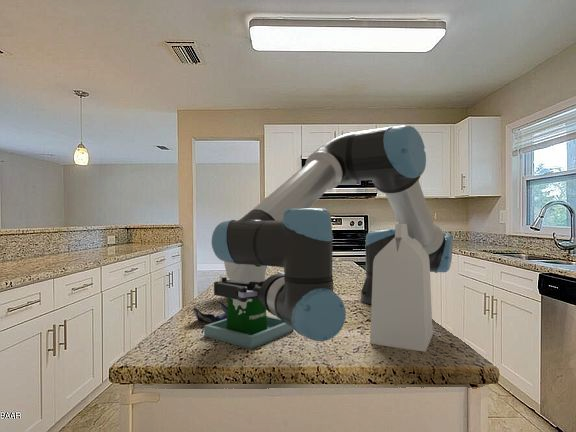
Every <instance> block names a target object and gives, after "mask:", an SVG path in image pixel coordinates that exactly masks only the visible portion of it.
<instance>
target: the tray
mask: <svg viewBox="0 0 576 432" xmlns="http://www.w3.org/2000/svg"><path fill="white" fill-rule="evenodd" d="M266 316H267V329H266V330H264V331H261V332H258V333H256V334H253V335H248V334H244V333H240V332H236V331H232V330H228V329H226V326H227V319H224V320H220V321H217V322H214V323H211V322H210V323H208V324H205V325H204V326H203V329H204V333H203V334H204V335H203V336H204V337H206V338H210V339H214V340H217V341H221V342H225V343H228V344H231V345H235V346H240V347H242V348H247V349H248V350H249V349H250V350H253V349H256V348H257V347H259V346H262V345H265V344H267V343H269V342H272V341H274V340H277V339H279V338H281V337H284V336H286V335H288V334H290V332H291V333H293V332H294V331H295V330H294V329H293V328H291V327H290V326H289V325H287V324H286V323H285V322H283V321H282V320H281V319H279V318H278V317H276V316H275V317H274V316H270V315H266ZM292 331H293V332H292ZM285 334H286V335H285ZM283 335H284V336H283Z"/></svg>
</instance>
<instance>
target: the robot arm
mask: <svg viewBox="0 0 576 432" xmlns="http://www.w3.org/2000/svg"><path fill="white" fill-rule="evenodd" d="M304 163H305V164H304V165H303V166H302V167H301V168H300V169H299V170H298V171H297V172H295V173H294V174H293V175H292V176H291V177H289V178H288V179H287V180H285V181H284V182H283V183H282V184H281V185H279V187H277V188H276V189H275V190H274V191H272V193H270V194H269V195H268V196H267V197H265V198H264V199H263V200H262V201H261V202H259V203H258V204H257V205H256V206H254V207H253V208H252V209H251V210H250V211H249V212H248V213H246V214H244V216H242V217H241V218H240V219H237V220H236V219H230V220H225V221H222V222H219V223H218V224H217V225H216V227H215V228H214V229H213V232H212V236H211V247H212V250H213V253H214V255H215V256H216V258H217V259H218V260H220V261H222V262H224V261H225V262H231V263H235V264H248V265H264V266H267V267H277V268H283V271H284V272H283V271H279V270H278V271H276V273H275V274H272V275H270V276H269V277H267V278H266V280H265V281H251V282H249V283H245V282H234V281H230V279H229V278H227V275H226V276H225V275H224V274H222V275H219V281H215V282H213V295H214V296H217V297H223V298H232V299H236V300H239V301H241V302H246V301H247V297H249V298H250V299H255V300H260V302H261V304H262V305H263V307H264V308H265V309H266V312H269V313H270V314H272V315H273V316H275V317H276V318H279V319H281V320H282V321H283V322H285V323H286V324H287V325H289V326H290V327H291V328H293V329H294V331H295V332H296V333H297V334H298V335H301V336H302V337H305V338H307V339H309V340H311V341H314V342H326V341H329V340H331V339H333V338H335V337H336V336H337V335H338V334H339V333H340V331H341V330H342V329H343V327H344V324H345V323H346V316H347V314H346V313H347V311H346V307H345V304H344V301H343V300H342V298H341V297H340V296H339V295H338V294H337V293H336V292H335V291H334V279H333V240H334V235H333V227H332V226H333V225H332V224H333V223H332V216H331V213H330V211H329V210H328V209H327V208H315V207H314V208H312V206H313V205H315V203H316V202H317V201H318V200H319V199H320V198H321V197H322V196H323V195H324V194H325V193H326V192H327V191H328V190H329V191H330V190H332V189H335V188H336V187H338V186H339V185H340V184H342V183H346V182H356V181H372V183H373V185H374V188H376V190H377V191H379V192H380V193H382V194H385V196H386V199H387V201H388V203H389V205H390V208H391V209H392V213H393V214H394V216H395V218H396V220H397V224H407V230H408V236H410V237H411V238H412V239H413V238H414V239H416V240H417V241H418V242H419V243H420V244H421V245H422V247H423V249H424V250H425V251H426V253H427V254H428V256H429V262H430V273H434V274H436V273H437V274H438V273H447V272H448V271H450V268H451V263H452V258H453V248H454V246H453V244H454V243H453V241H454V239H453V234H451V233H447V232H443V229H441V227H440V226H438V225H437V224H435V223H434V221H433V218H432V215H431V212H430V209H429V207H428V204H427V201H426V198H425V195H424V192H423V190H422V187H421V184H420V183H421V182H420V178H421V176H422V175H423V174H424V172H425V169H426V165H427V154H426V151H425V144H424V140H423V139H422V135H421V134H420V132H419V131H418V130H417V129H416V128H415V127H414V126H411V125H406V124H405V125H391V126H388V127H381V128H374V129H368V130H362V131H361V130H360V131H354V132H348V133H345V134H342V135H339V136H338V137H335V138H333V139H332V140H329V141H328V142H326V143H325V144H323V145H322V146H320V147H319V148H318V149H316V150H315V151H314V152H313V153H311V154H310V155H309V156H308V157H307V158H306V160H305V162H304ZM394 237H395V228H391V229H383V230H376V231H370V232H367V234H366V236H365V245H364V247H365V278H364V282H363V286H362V289H361V291H360V301H361V302H363V303H365V304H368V305H372V279H373V261H374V258H375V256H376V255H377V254H378V253H379V252H380V251H381V250H382V249H383V248H384V247H385V246H386V245H387V244H388V243H389V242H390V241H391V240H392V239H393V238H394ZM255 285H258V286H256V287H255Z"/></svg>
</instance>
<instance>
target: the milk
mask: <svg viewBox="0 0 576 432" xmlns="http://www.w3.org/2000/svg"><path fill="white" fill-rule="evenodd" d="M394 229H395V237H394V238H393V239H392V240H391V241H390V242H389V243H388V244H387V245H386V246H385V247H384V248H383V249H382V250H381V251H380V252H379V253H378V254H377V255H376V256H375V258H374V261H373V279H372V304H371V308H370V309H371V310H370V312H371V313H370V336H369V344H371V345H377V346H378V345H379V346H384V347H385V346H386V347H390V348H391V347H392V348H398V349H405V350H412V351H417V352H419V351H420V352H423V353H424V352H427V350H428V348H429V345H430V342H431V340H432V337H433V335H434V332H433V331H434V329H433V312H432V311H433V309H432V307H433V306H432V291H431V290H432V289H431V287H432V286H431V284H432V283H431V272H430V262H429V256H428V254H427V253H426V251H425V250H424V249H423V247H422V245H421V244H420V243H419V242H418V241H417V240H416V239H414V238H413V239H412V238H411V237H410V236H408V230H407V224H399V223H395V227H394Z"/></svg>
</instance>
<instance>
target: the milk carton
mask: <svg viewBox="0 0 576 432" xmlns="http://www.w3.org/2000/svg"><path fill="white" fill-rule="evenodd" d="M223 262H225V261H223ZM225 267H226V268H225ZM224 268H225V272H226V271H227V273H226V277H227V278H229V279H230V281H234V282H245V283H249V282H251V281H265V280H266V279H267V278H266V277H267V276H266V274H267V268H268V266H264V265H248V264H235V263H231V262H225V263H224ZM256 286H258V285H255V287H256ZM226 298H227V297H226ZM227 306H228V312H227V326H226V329H228V330H232V331H236V332H240V333H244V334H248V335H253V334H256V333H258V332H261V331H264V330H266V329H267V316H268V315H267V310H266V309H265V308H264V307H263V305H262V304H261V302H260V300H255V299H250V298H249V297H247V301H246V302H241V301H239V300H236V299H232V298H227Z"/></svg>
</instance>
